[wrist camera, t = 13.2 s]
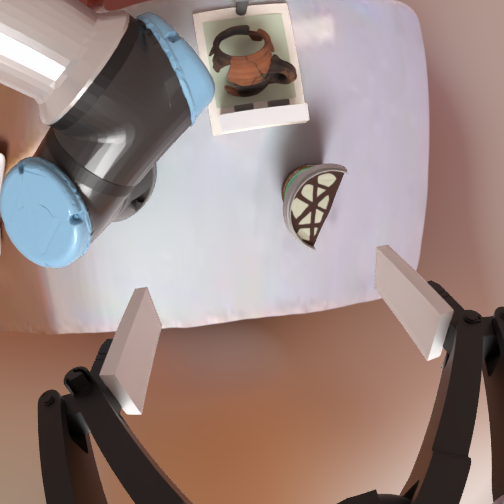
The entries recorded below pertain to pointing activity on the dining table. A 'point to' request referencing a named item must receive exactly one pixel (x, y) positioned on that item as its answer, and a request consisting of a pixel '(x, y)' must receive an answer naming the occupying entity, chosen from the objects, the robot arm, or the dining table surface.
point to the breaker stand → (256, 17)
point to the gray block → (241, 6)
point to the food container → (309, 199)
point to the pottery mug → (251, 64)
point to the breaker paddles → (270, 103)
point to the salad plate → (1, 180)
